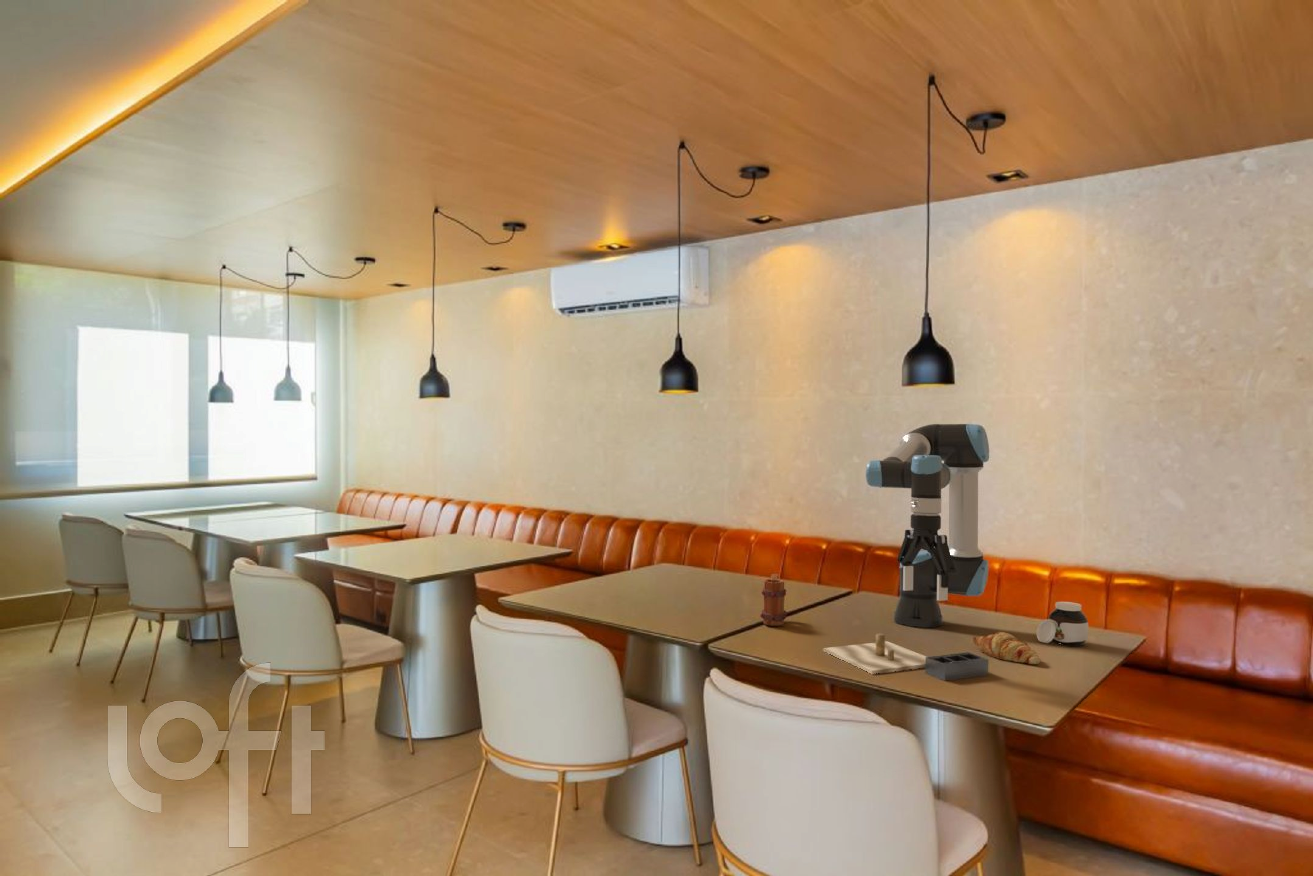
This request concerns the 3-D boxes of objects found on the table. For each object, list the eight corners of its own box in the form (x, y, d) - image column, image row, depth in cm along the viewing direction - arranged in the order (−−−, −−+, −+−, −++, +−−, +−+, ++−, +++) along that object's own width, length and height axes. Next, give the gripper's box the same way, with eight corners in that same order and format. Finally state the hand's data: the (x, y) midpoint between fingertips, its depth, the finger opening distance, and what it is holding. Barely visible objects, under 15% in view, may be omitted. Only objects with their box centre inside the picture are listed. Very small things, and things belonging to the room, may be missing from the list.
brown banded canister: (785, 629, 246) (786, 581, 246) (759, 627, 247) (760, 580, 247) (787, 618, 260) (788, 573, 260) (762, 617, 262) (763, 571, 261)
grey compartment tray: (968, 667, 207) (968, 652, 207) (988, 675, 201) (988, 659, 201) (925, 672, 202) (925, 657, 202) (944, 681, 195) (944, 664, 195)
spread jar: (1092, 645, 230) (1092, 606, 230) (1069, 650, 224) (1069, 610, 224) (1053, 636, 240) (1053, 598, 240) (1030, 641, 234) (1031, 602, 234)
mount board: (887, 644, 229) (887, 622, 229) (940, 665, 208) (940, 641, 208) (822, 651, 221) (823, 628, 220) (871, 674, 200) (872, 649, 200)
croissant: (1046, 678, 210) (1055, 650, 212) (1025, 665, 205) (1035, 637, 207) (978, 656, 228) (988, 631, 230) (958, 644, 224) (968, 618, 226)
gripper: (884, 509, 216) (883, 587, 216) (946, 518, 193) (945, 605, 193) (907, 509, 219) (906, 585, 219) (971, 518, 195) (970, 603, 195)
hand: (924, 595), depth 206 cm, fingers open, 13 cm apart
